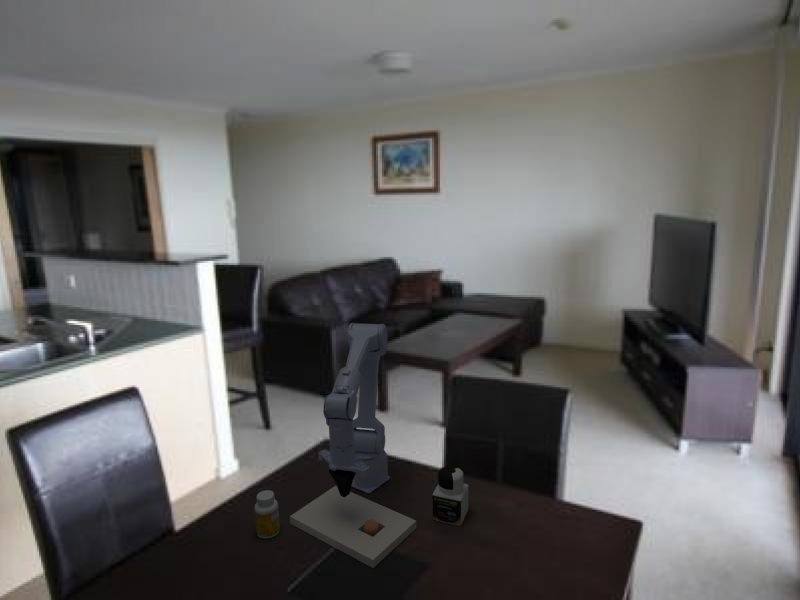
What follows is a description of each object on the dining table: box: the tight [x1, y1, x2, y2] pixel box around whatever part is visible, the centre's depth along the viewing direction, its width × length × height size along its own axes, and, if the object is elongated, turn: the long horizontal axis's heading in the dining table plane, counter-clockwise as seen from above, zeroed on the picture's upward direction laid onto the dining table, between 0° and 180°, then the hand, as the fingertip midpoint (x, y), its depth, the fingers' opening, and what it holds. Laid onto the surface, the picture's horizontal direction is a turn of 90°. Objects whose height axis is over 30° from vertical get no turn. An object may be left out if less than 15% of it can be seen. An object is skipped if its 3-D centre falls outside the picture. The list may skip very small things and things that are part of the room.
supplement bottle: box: [254, 489, 281, 539], centre depth 121 cm, size 5×5×10 cm
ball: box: [364, 519, 379, 537], centre depth 120 cm, size 4×4×4 cm
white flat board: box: [289, 485, 417, 569], centre depth 123 cm, size 26×16×2 cm, turn 53°
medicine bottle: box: [432, 465, 469, 527], centre depth 125 cm, size 7×7×12 cm
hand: (345, 494), depth 123 cm, fingers closed
